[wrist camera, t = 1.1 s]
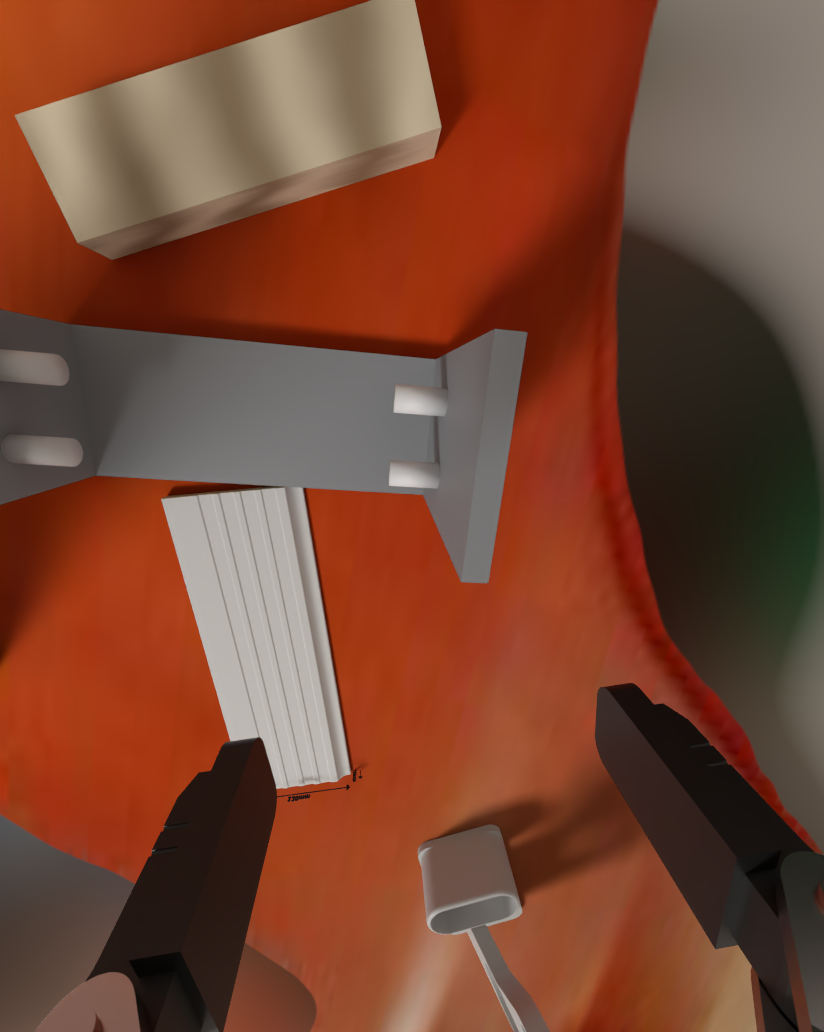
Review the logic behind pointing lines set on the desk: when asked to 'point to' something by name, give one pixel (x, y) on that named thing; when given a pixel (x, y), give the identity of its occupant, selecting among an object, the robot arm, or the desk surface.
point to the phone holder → (478, 908)
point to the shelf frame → (263, 418)
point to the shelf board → (240, 129)
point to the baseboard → (264, 625)
